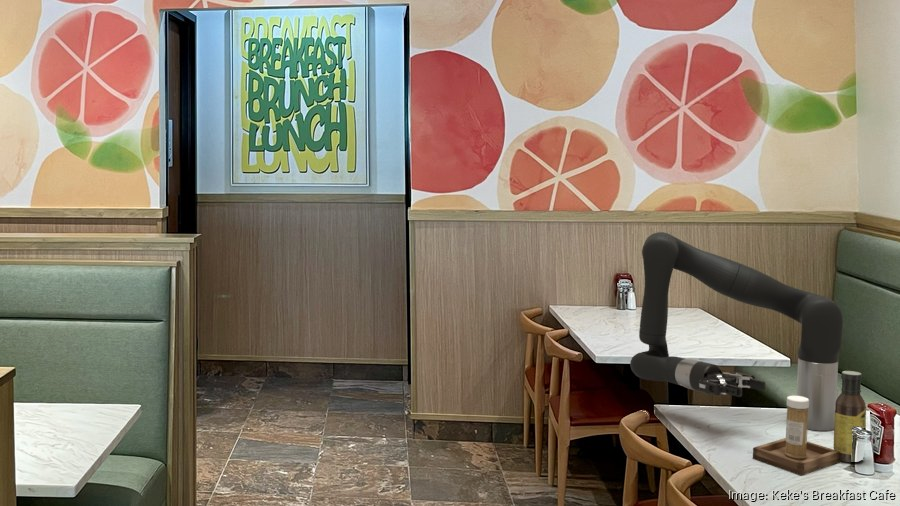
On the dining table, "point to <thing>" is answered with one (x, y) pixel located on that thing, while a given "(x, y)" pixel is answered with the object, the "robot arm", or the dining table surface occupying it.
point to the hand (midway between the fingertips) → (753, 389)
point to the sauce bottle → (848, 413)
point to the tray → (813, 461)
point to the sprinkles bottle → (796, 427)
